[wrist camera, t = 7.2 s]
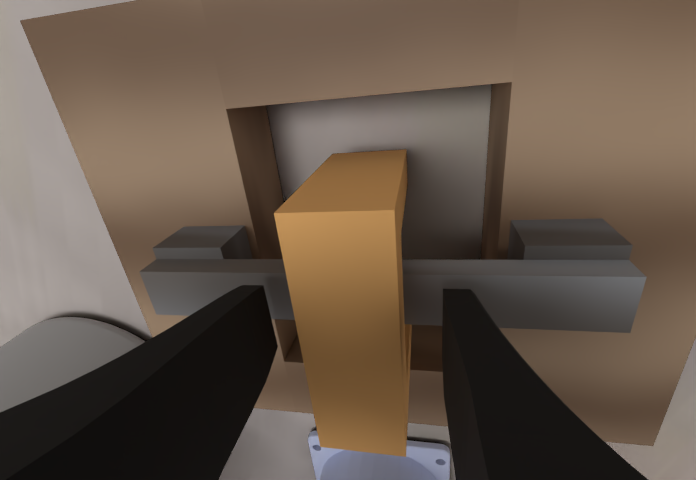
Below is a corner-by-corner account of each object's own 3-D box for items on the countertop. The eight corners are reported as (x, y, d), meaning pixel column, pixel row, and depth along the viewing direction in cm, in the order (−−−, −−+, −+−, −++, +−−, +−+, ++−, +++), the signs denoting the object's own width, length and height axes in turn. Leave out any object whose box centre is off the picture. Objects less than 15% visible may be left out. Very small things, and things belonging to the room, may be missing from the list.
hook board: (615, 382, 16) (698, 521, 11) (210, 356, 20) (143, 449, 15) (748, -75, 9) (1103, -224, 4) (99, 28, 13) (-83, 10, 9)
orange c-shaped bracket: (411, 328, 15) (406, 456, 10) (352, 326, 16) (320, 447, 11) (406, 149, 12) (394, 210, 7) (332, 153, 12) (274, 213, 8)
